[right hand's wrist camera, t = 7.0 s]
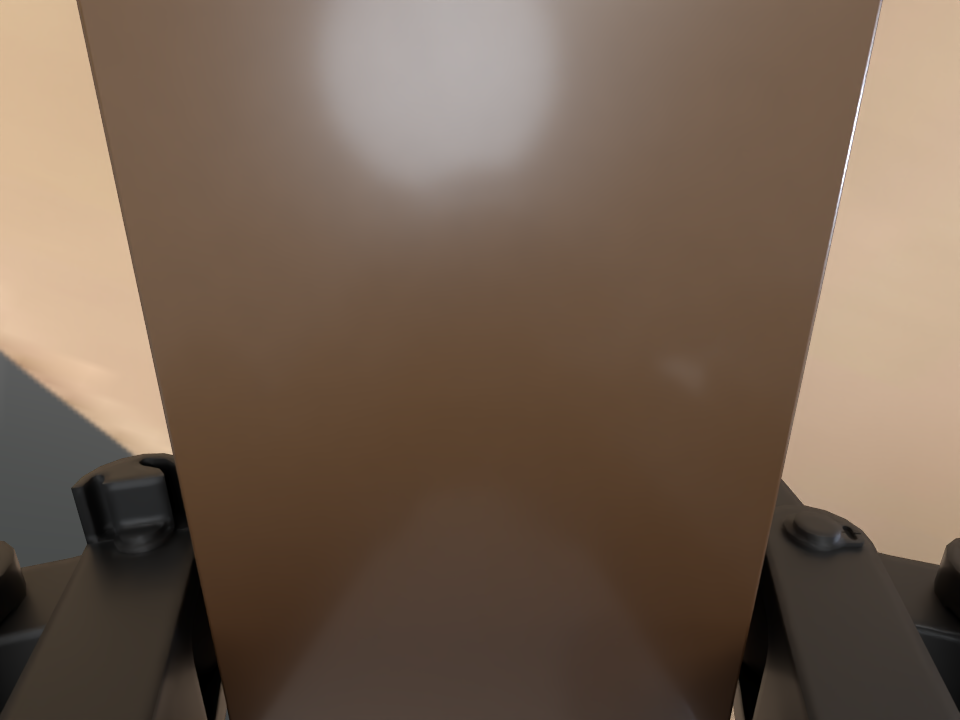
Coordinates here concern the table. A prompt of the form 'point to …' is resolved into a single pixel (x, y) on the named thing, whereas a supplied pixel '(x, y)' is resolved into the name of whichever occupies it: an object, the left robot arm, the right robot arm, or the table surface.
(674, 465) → the bar
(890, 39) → the table surface
